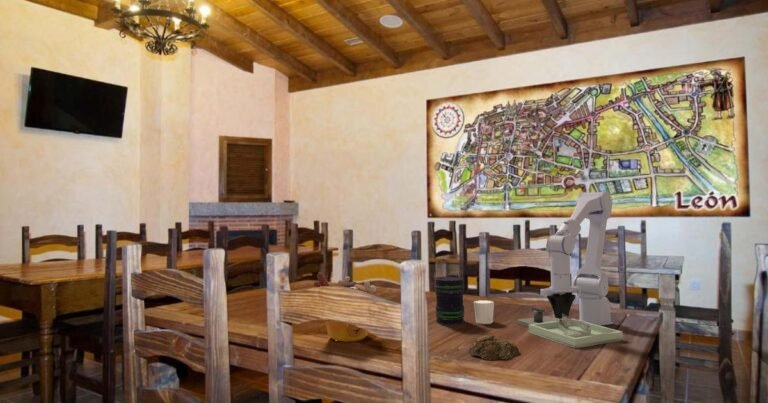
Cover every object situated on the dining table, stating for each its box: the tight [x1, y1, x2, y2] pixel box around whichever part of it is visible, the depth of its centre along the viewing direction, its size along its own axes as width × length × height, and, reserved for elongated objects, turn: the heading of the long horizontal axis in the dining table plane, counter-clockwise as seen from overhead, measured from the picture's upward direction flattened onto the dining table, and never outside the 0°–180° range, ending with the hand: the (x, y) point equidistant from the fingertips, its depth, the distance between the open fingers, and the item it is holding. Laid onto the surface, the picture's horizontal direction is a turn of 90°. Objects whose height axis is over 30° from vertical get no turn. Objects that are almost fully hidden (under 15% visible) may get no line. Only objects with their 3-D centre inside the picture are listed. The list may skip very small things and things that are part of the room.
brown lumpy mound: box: [468, 334, 520, 361], centre depth 127 cm, size 13×12×5 cm
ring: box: [551, 310, 591, 337], centre depth 144 cm, size 13×9×2 cm
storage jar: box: [434, 275, 465, 326], centre depth 164 cm, size 10×10×15 cm
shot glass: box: [473, 299, 495, 325], centre depth 163 cm, size 7×7×7 cm
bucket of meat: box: [313, 272, 377, 343], centre depth 146 cm, size 20×16×20 cm
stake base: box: [516, 306, 555, 328], centre depth 157 cm, size 13×11×6 cm
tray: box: [528, 318, 624, 349], centre depth 142 cm, size 18×19×2 cm
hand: (561, 317), depth 147 cm, fingers closed on ring, 2 cm apart
